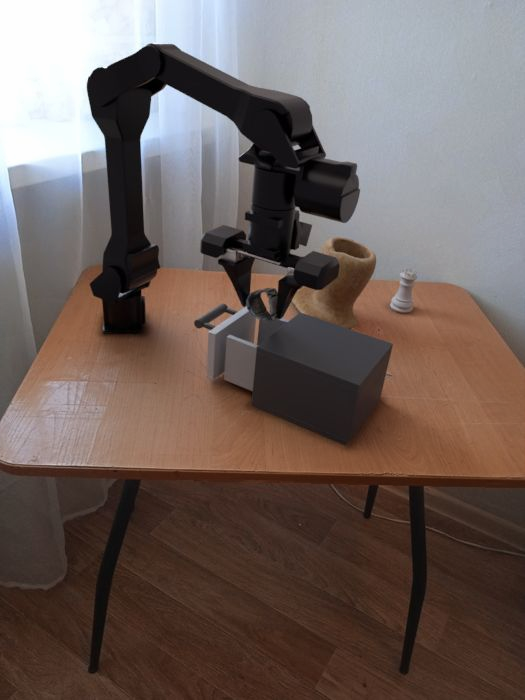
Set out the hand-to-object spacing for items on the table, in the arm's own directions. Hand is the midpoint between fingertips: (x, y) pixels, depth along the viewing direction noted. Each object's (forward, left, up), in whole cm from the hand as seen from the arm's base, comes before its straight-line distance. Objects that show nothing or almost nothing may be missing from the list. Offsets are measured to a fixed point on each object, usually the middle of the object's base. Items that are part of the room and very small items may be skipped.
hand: (262, 311), depth 80 cm
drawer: (0, 0, -10) cm, 10 cm away
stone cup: (+17, +19, -12) cm, 28 cm away
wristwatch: (0, 0, -1) cm, 1 cm away
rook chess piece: (+33, +22, -12) cm, 41 cm away
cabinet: (+8, -7, -11) cm, 15 cm away
